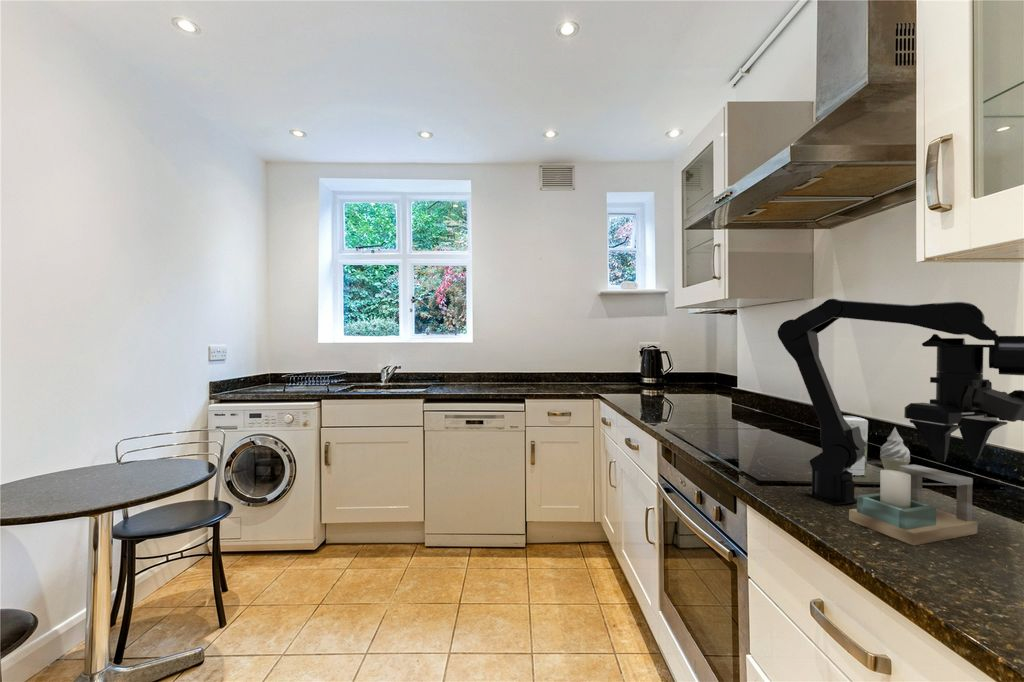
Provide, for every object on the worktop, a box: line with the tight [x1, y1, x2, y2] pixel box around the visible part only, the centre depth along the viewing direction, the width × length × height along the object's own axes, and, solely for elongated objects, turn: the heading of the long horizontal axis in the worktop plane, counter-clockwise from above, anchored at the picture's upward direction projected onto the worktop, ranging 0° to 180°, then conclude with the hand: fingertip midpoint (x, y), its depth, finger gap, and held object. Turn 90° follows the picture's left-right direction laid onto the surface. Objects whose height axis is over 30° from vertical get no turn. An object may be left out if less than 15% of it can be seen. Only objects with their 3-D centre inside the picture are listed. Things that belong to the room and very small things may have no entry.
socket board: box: [848, 463, 979, 546], centre depth 76 cm, size 10×16×10 cm, turn 107°
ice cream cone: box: [879, 426, 911, 473], centre depth 92 cm, size 5×5×15 cm
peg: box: [879, 469, 911, 509], centre depth 75 cm, size 4×4×8 cm
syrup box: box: [843, 415, 869, 477], centre depth 107 cm, size 6×6×14 cm
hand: (957, 459), depth 75 cm, fingers open, 9 cm apart
